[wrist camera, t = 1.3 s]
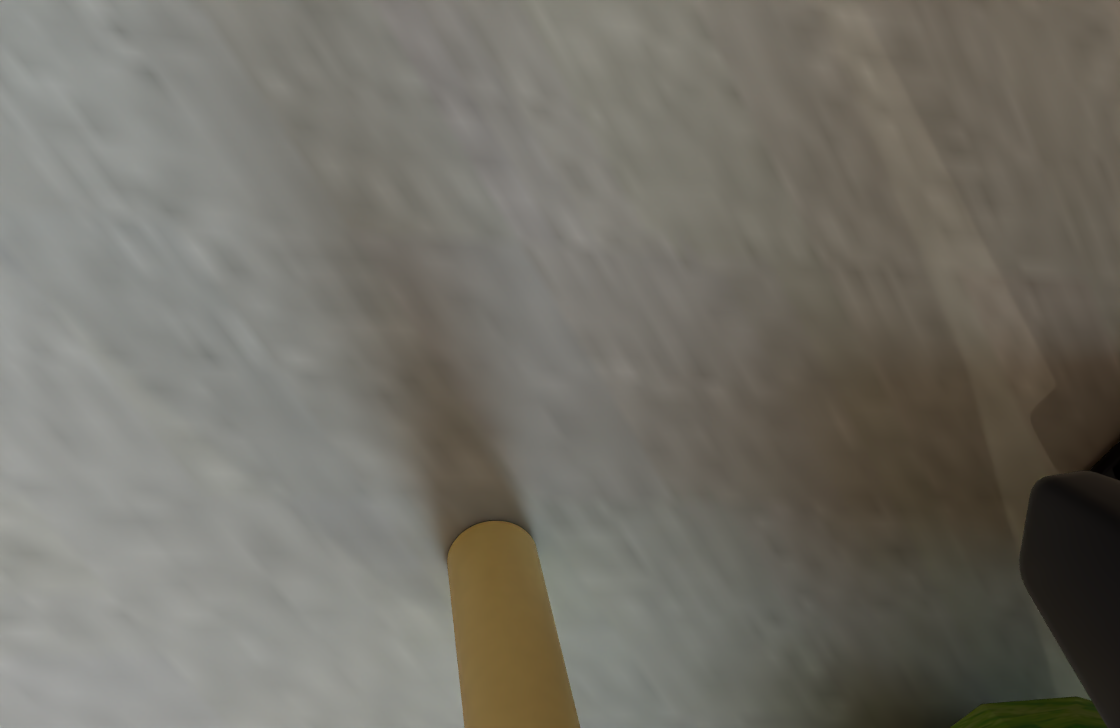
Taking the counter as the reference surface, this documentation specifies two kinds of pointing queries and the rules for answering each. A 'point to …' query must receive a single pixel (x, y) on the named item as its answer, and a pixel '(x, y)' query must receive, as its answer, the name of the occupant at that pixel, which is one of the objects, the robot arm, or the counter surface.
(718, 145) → the counter surface
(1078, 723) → the lettuce
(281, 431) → the counter surface
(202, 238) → the counter surface
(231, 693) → the counter surface
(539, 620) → the tan solid cylinder
